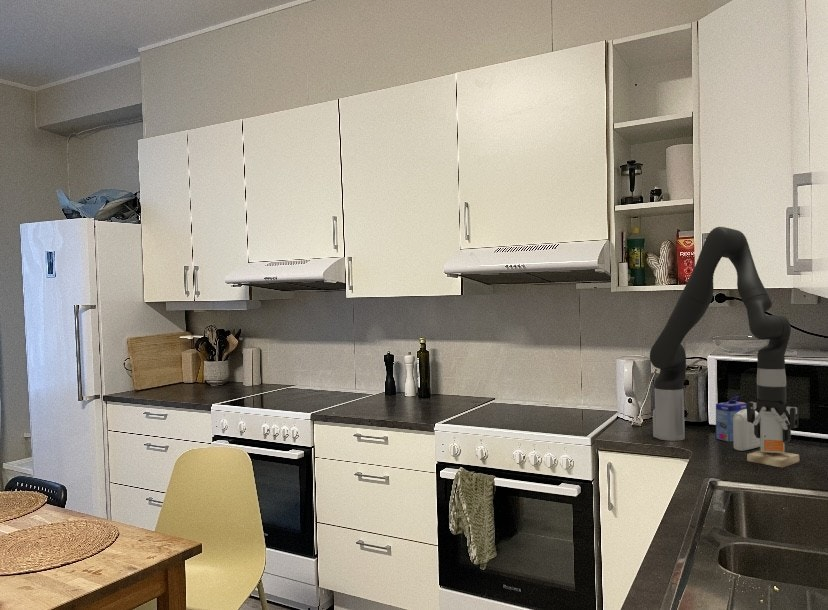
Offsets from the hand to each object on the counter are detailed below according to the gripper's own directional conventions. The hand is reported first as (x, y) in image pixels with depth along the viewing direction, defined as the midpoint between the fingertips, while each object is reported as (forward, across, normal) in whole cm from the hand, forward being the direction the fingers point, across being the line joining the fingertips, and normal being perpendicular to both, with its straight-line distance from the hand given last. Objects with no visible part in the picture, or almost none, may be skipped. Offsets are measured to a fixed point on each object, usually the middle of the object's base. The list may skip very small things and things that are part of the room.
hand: (772, 439), depth 192 cm
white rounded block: (+7, -13, +10) cm, 18 cm away
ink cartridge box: (+7, -23, +19) cm, 30 cm away
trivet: (+6, 0, 0) cm, 6 cm away
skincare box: (+4, 0, 0) cm, 4 cm away
